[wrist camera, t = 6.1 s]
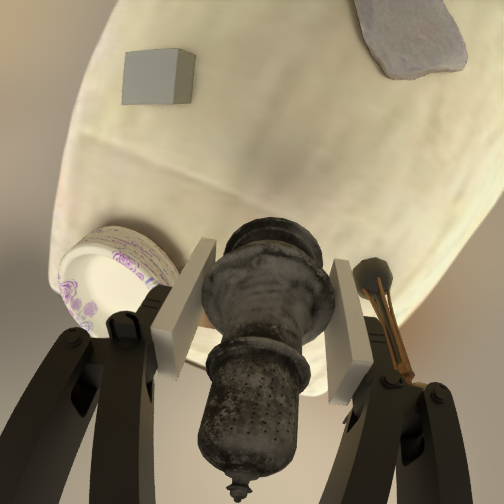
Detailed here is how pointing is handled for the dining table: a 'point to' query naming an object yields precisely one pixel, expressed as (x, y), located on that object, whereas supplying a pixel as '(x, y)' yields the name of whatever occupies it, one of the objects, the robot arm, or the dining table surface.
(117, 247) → the paper bowls
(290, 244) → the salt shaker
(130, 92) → the slate cube
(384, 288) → the wooden tabletop sculpture
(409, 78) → the stone block
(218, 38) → the dining table surface
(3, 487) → the robot arm
